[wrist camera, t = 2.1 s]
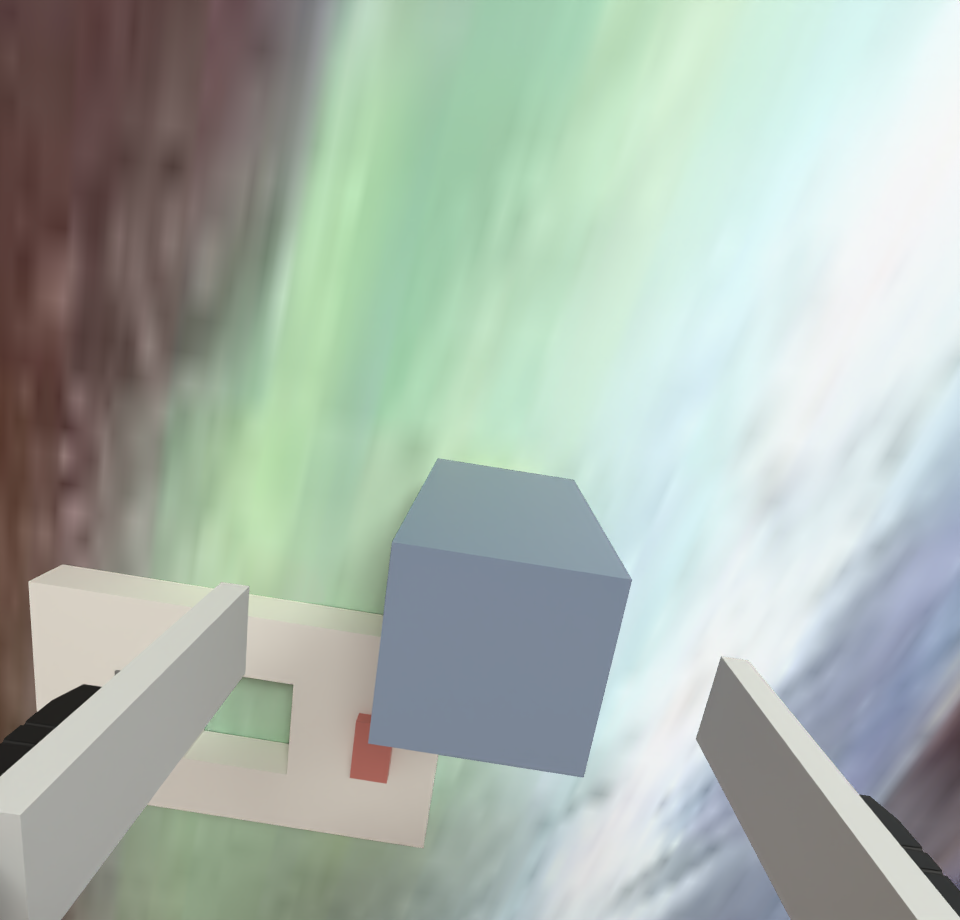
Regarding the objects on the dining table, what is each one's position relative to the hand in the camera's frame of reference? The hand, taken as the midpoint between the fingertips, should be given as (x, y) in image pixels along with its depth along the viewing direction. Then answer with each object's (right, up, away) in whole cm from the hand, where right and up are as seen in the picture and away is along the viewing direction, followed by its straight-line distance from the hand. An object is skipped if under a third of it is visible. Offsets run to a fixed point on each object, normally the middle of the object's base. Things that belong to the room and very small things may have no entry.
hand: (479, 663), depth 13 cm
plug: (+1, +3, +12) cm, 12 cm away
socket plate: (-13, -8, +15) cm, 21 cm away
